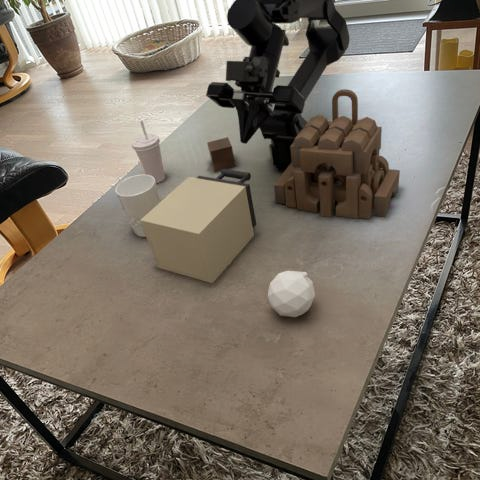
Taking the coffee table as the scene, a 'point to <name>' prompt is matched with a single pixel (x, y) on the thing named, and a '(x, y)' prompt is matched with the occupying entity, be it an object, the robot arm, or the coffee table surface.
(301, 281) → the ornament
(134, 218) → the white cup
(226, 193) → the cabinet
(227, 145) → the block
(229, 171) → the drawer
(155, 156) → the smoothie
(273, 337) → the coffee table surface
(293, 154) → the wooden puzzle
